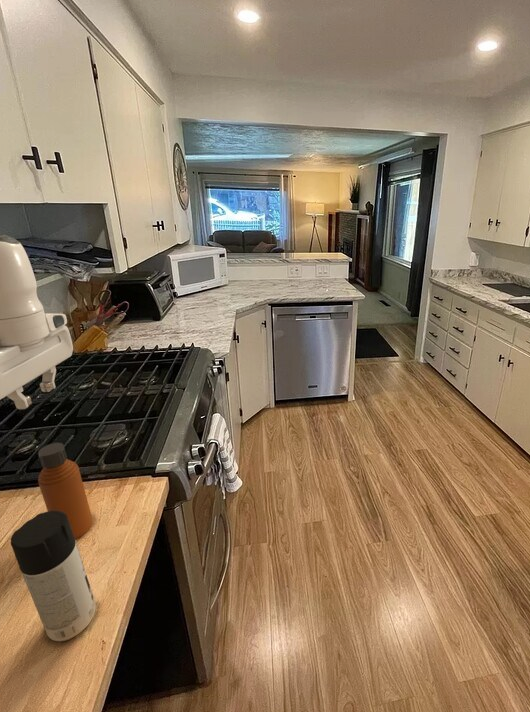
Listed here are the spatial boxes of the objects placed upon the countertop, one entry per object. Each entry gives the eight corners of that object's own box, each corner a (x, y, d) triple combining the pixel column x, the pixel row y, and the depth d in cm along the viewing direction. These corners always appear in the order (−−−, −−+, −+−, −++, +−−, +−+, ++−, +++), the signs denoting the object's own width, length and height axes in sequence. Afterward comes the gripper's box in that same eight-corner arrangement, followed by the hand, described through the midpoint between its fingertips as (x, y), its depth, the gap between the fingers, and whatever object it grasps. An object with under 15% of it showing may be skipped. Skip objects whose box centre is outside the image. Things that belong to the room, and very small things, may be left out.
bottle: (48, 541, 71) (21, 463, 64) (69, 515, 77) (46, 441, 70) (81, 541, 71) (57, 462, 64) (99, 515, 77) (79, 441, 70)
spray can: (106, 606, 59) (79, 515, 53) (67, 651, 53) (30, 554, 47) (77, 593, 61) (47, 503, 55) (36, 634, 55) (-4, 539, 49)
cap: (72, 454, 70) (68, 442, 69) (58, 468, 66) (54, 455, 65) (51, 454, 70) (47, 442, 69) (36, 468, 66) (32, 456, 65)
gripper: (-17, 351, 52) (10, 430, 57) (71, 312, 72) (86, 374, 76) (-62, 351, 52) (-30, 431, 57) (39, 312, 71) (56, 374, 76)
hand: (37, 398), depth 67 cm, fingers open, 5 cm apart
